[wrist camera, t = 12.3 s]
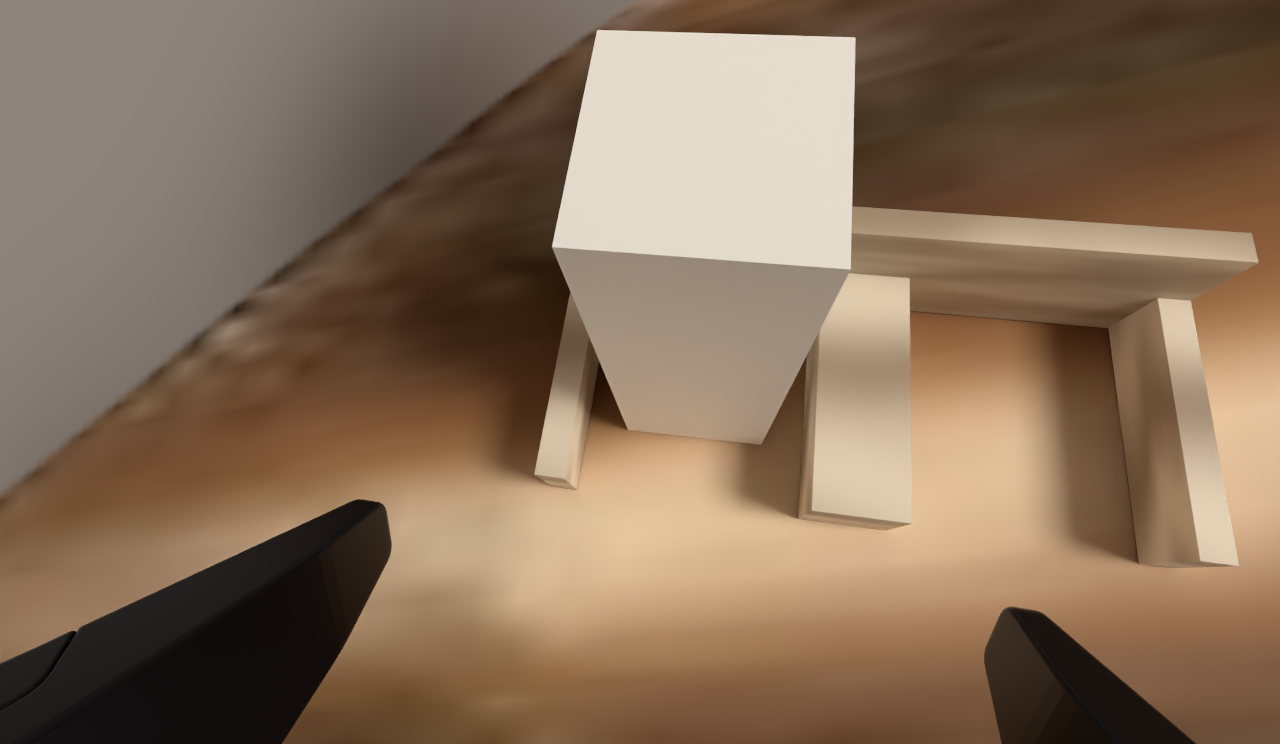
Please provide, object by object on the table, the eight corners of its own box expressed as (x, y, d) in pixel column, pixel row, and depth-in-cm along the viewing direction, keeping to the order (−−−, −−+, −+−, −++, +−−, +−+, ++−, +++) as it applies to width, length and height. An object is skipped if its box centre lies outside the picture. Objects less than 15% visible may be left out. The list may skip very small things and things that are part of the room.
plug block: (761, 444, 22) (850, 269, 10) (627, 429, 22) (551, 247, 10) (769, 322, 23) (855, 37, 11) (644, 311, 24) (597, 29, 12)
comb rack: (1172, 567, 19) (1327, 563, 15) (550, 485, 22) (512, 459, 17) (1133, 306, 22) (1251, 233, 18) (593, 262, 25) (570, 187, 20)
